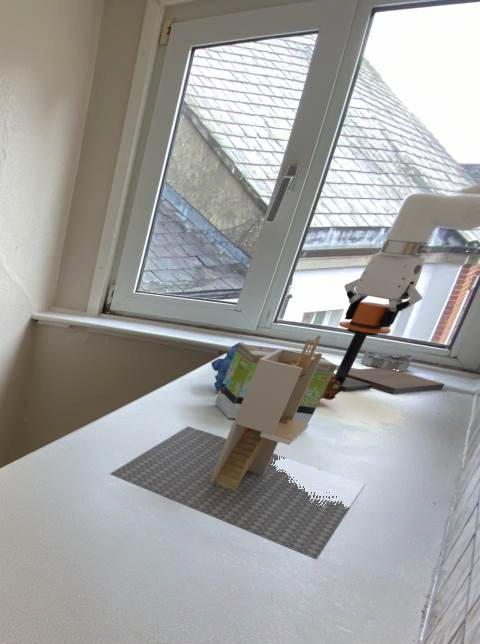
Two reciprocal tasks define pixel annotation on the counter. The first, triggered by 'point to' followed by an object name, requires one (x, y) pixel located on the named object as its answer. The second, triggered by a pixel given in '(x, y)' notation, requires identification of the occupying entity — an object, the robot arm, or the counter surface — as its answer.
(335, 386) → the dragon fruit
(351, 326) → the hat
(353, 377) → the board
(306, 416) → the tea box
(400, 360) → the egg carton
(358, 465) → the counter surface
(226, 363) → the grapes
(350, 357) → the hat stand
